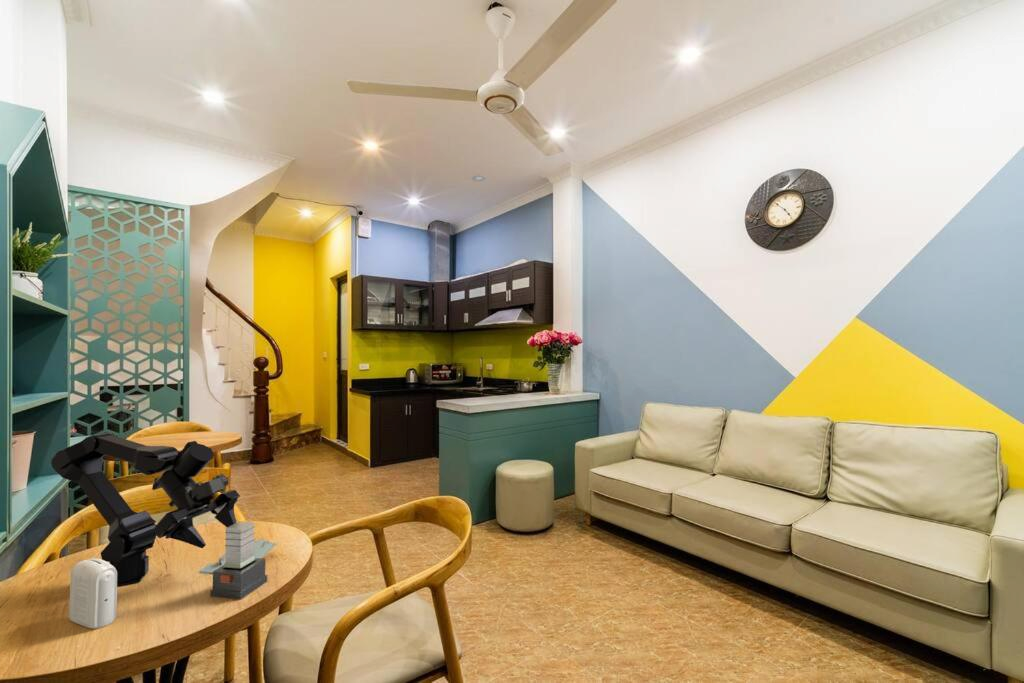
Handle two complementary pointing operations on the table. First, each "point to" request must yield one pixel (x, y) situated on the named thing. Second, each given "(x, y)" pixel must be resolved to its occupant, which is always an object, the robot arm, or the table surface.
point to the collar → (238, 580)
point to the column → (239, 545)
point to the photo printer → (93, 593)
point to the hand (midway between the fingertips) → (220, 538)
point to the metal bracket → (259, 552)
